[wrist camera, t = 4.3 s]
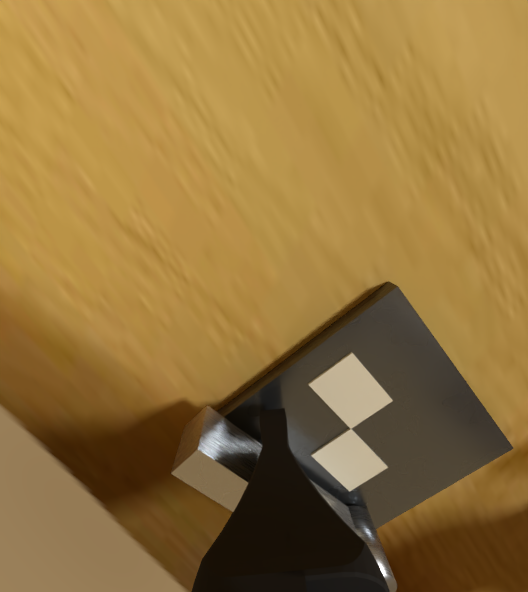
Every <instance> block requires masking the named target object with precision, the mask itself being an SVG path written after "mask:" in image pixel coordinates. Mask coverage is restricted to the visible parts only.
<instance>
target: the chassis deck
mask: <svg viewBox="0 0 528 592" xmlns="http://www.w3.org/2000/svg"><path fill="white" fill-rule="evenodd" d="M351 352H352V353H353V354H354V355H355V356H356V358H357V359H358V360H359V361H360V362H361V364H362V365H363V366H364V367H365V368H366V369H367V371H368V372H369V373H370V374H371V375H372V376H373V378H374V379H375V380H376V381H377V382H378V383H379V385H380V386H381V387H382V388H383V389H384V391H385V392H386V393H387V394H388V395H389V396H390V398H391V399H392V400H393V401H392V402H391V403H389V404H388V405H386V406H385V407H383V408H382V409H380V410H379V411H377V412H376V413H374V414H373V415H371V416H370V417H368V418H367V419H365V420H364V421H362V422H361V423H359V424H358V425H356V426H355V427H353V428H352V430H353V431H354V432H355V433H356V434H357V435H358V436H359V437H360V438H361V439H362V440H363V441H364V442H365V444H366V445H367V446H368V447H369V448H370V449H371V450H372V451H373V452H374V453H375V454H376V455H377V456H378V457H379V458H380V459H381V460H382V461H383V462H384V463H385V464H386V465H387V467H388V468H387V469H385V470H383V471H382V472H380V473H379V474H377V475H375V476H374V477H372V478H371V479H369V480H367V481H366V482H364V483H363V484H361V485H359V486H358V487H356V488H355V489H353V490H351V491H348V490H347V489H346V488H345V487H344V486H343V485H342V484H341V483H340V482H339V481H338V480H337V479H336V478H335V477H333V476H332V475H331V474H330V473H329V472H328V471H327V470H326V469H325V468H324V467H323V466H322V465H321V464H320V463H318V462H317V461H316V460H315V459H314V458H313V457H312V456H311V454H312V453H313V452H315V451H316V450H318V449H319V448H320V447H322V446H323V445H325V444H326V443H328V442H329V441H331V440H332V439H334V438H335V437H337V436H338V435H340V434H341V433H343V432H344V431H346V430H347V429H349V427H348V426H347V425H346V423H345V422H344V421H343V420H342V419H341V418H340V417H339V416H338V415H337V414H336V413H335V412H334V411H333V410H332V409H331V408H330V407H329V406H328V405H327V404H326V403H325V402H324V401H323V400H322V398H321V397H320V396H319V395H318V394H317V393H316V392H315V391H314V390H313V389H312V388H311V387H310V386H309V385H308V383H309V382H311V381H312V380H314V379H315V378H316V377H318V376H319V375H320V374H322V373H323V372H325V371H326V370H327V369H329V368H330V367H331V366H333V365H334V364H336V363H337V362H338V361H340V360H341V359H342V358H344V357H345V356H347V355H348V354H349V353H351ZM282 408H285V413H286V418H287V428H288V441H289V447H290V449H291V451H292V453H293V454H294V456H295V458H296V459H297V461H298V463H299V464H300V466H301V467H302V469H303V471H304V472H305V474H306V475H307V476H308V478H309V479H310V480H312V481H313V482H314V483H316V484H317V485H318V486H320V487H321V488H323V489H324V490H325V491H327V492H328V493H330V494H331V495H332V496H334V497H335V498H336V499H338V500H339V501H341V502H342V503H343V504H345V505H346V506H360V507H363V508H365V509H366V510H367V511H368V512H369V513H370V516H371V518H372V521H373V523H374V526H375V529H377V528H378V527H380V526H382V525H384V524H385V523H387V522H389V521H390V520H392V519H394V518H395V517H397V516H399V515H401V514H402V513H404V512H406V511H407V510H409V509H411V508H413V507H414V506H416V505H418V504H419V503H421V502H423V501H424V500H426V499H428V498H430V497H431V496H433V495H435V494H436V493H438V492H440V491H442V490H443V489H445V488H447V487H448V486H450V485H452V484H454V483H455V482H457V481H459V480H460V479H462V478H464V477H465V476H467V475H469V474H471V473H472V472H474V471H476V470H477V469H479V468H481V467H483V466H484V465H486V464H488V463H489V462H491V461H493V460H495V459H496V458H498V457H500V456H501V455H503V454H505V453H506V452H508V451H510V450H512V449H513V447H512V445H511V444H510V443H509V441H508V440H507V438H506V437H505V436H504V434H503V433H502V431H501V430H500V429H499V427H498V426H497V424H496V423H495V422H494V420H493V419H492V417H491V416H490V415H489V413H488V412H487V410H486V409H485V408H484V406H483V405H482V403H481V402H480V401H479V399H478V398H477V396H476V395H475V394H474V392H473V391H472V389H471V388H470V387H469V385H468V384H467V382H466V381H465V380H464V378H463V377H462V375H461V374H460V373H459V371H458V370H457V368H456V367H455V366H454V364H453V363H452V361H451V360H450V359H449V357H448V356H447V354H446V353H445V352H444V350H443V349H442V347H441V346H440V345H439V343H438V342H437V341H436V339H435V338H434V336H433V335H432V334H431V332H430V331H429V329H428V328H427V327H426V325H425V324H424V322H423V321H422V320H421V318H420V317H419V315H418V314H417V313H416V311H415V310H414V308H413V307H412V306H411V304H410V303H409V301H408V300H407V299H406V297H405V296H404V294H403V293H402V292H401V290H400V289H399V287H398V286H396V285H394V284H393V283H391V282H387V283H386V284H385V285H383V286H382V287H381V288H379V289H378V290H377V291H376V292H374V293H373V294H372V295H370V296H369V297H368V298H366V299H365V300H364V301H362V302H361V303H360V304H358V305H357V306H356V307H354V308H353V309H352V310H350V311H349V312H348V313H347V314H345V315H344V316H343V317H341V318H340V319H339V320H337V321H336V322H335V323H333V324H332V325H331V326H329V327H328V328H327V329H325V330H324V331H323V332H321V333H320V334H319V335H317V336H316V337H315V338H314V339H312V340H311V341H310V342H308V343H307V344H306V345H304V346H303V347H302V348H300V349H299V350H298V351H296V352H295V353H294V354H292V355H291V356H290V357H288V358H287V359H286V360H285V361H283V362H282V363H281V364H279V365H278V366H277V367H275V368H274V369H273V370H271V371H270V372H269V373H267V374H266V375H265V376H263V377H262V378H261V379H259V380H258V381H257V382H256V383H254V384H253V385H252V386H250V387H249V388H248V389H246V390H245V391H244V392H242V393H241V394H240V395H238V396H237V397H236V398H234V399H233V400H232V401H230V402H229V403H228V404H227V405H225V406H224V407H223V408H221V409H220V410H219V411H217V412H218V413H219V414H220V415H222V416H223V417H225V418H226V419H227V420H229V421H230V422H231V423H233V424H234V425H236V426H237V427H238V428H240V429H241V430H242V431H244V432H245V433H247V434H248V435H249V436H251V437H252V438H254V439H255V440H256V441H258V442H259V443H260V444H262V440H261V432H260V424H259V411H262V410H272V409H282Z"/></svg>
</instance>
